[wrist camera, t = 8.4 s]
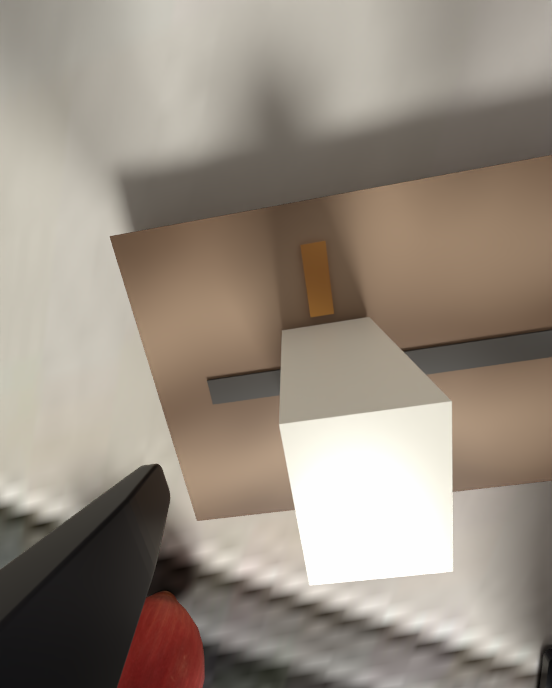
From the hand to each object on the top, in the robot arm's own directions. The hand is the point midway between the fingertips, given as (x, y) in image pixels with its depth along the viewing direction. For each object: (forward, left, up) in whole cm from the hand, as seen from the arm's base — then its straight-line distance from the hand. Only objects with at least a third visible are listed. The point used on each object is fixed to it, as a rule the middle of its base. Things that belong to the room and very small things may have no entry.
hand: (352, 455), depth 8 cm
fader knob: (0, 0, -5) cm, 5 cm away
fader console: (0, -6, -7) cm, 9 cm away
